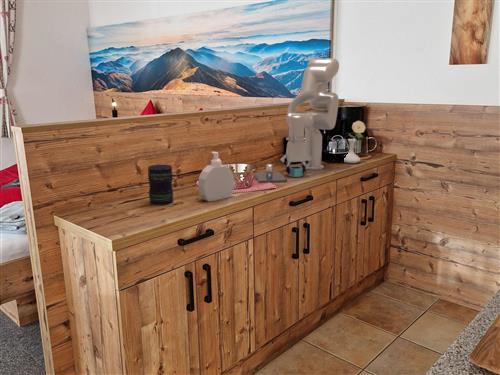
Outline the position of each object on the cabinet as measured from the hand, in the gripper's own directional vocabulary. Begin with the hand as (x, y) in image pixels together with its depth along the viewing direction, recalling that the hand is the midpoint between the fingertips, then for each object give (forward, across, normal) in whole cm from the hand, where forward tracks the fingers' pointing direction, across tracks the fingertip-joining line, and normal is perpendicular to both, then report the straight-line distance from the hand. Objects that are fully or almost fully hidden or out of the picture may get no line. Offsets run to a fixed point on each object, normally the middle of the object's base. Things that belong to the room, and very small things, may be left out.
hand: (295, 173), depth 241 cm
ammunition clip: (+1, -40, -26) cm, 48 cm away
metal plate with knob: (+1, -14, -2) cm, 15 cm away
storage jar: (0, -67, -40) cm, 79 cm away
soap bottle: (+1, -44, -38) cm, 58 cm away
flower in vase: (+3, +43, +32) cm, 53 cm away
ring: (+1, 0, 0) cm, 1 cm away
